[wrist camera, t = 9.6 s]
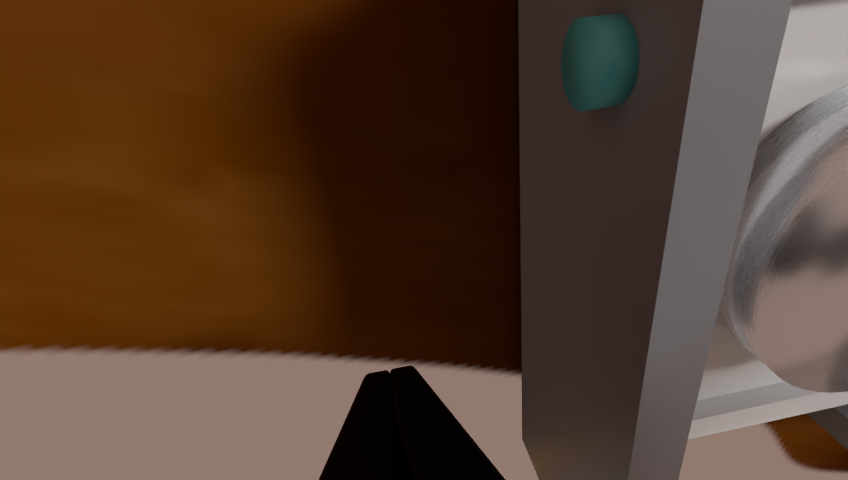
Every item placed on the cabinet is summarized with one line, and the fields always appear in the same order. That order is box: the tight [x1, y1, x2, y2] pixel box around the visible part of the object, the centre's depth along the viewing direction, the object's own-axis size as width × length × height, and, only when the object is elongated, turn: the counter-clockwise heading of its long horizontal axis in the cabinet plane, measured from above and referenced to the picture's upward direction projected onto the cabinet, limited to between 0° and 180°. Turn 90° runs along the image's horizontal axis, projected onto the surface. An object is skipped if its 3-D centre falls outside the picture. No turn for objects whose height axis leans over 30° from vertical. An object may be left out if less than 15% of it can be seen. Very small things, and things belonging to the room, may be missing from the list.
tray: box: [518, 0, 848, 480], centre depth 10 cm, size 14×15×6 cm
